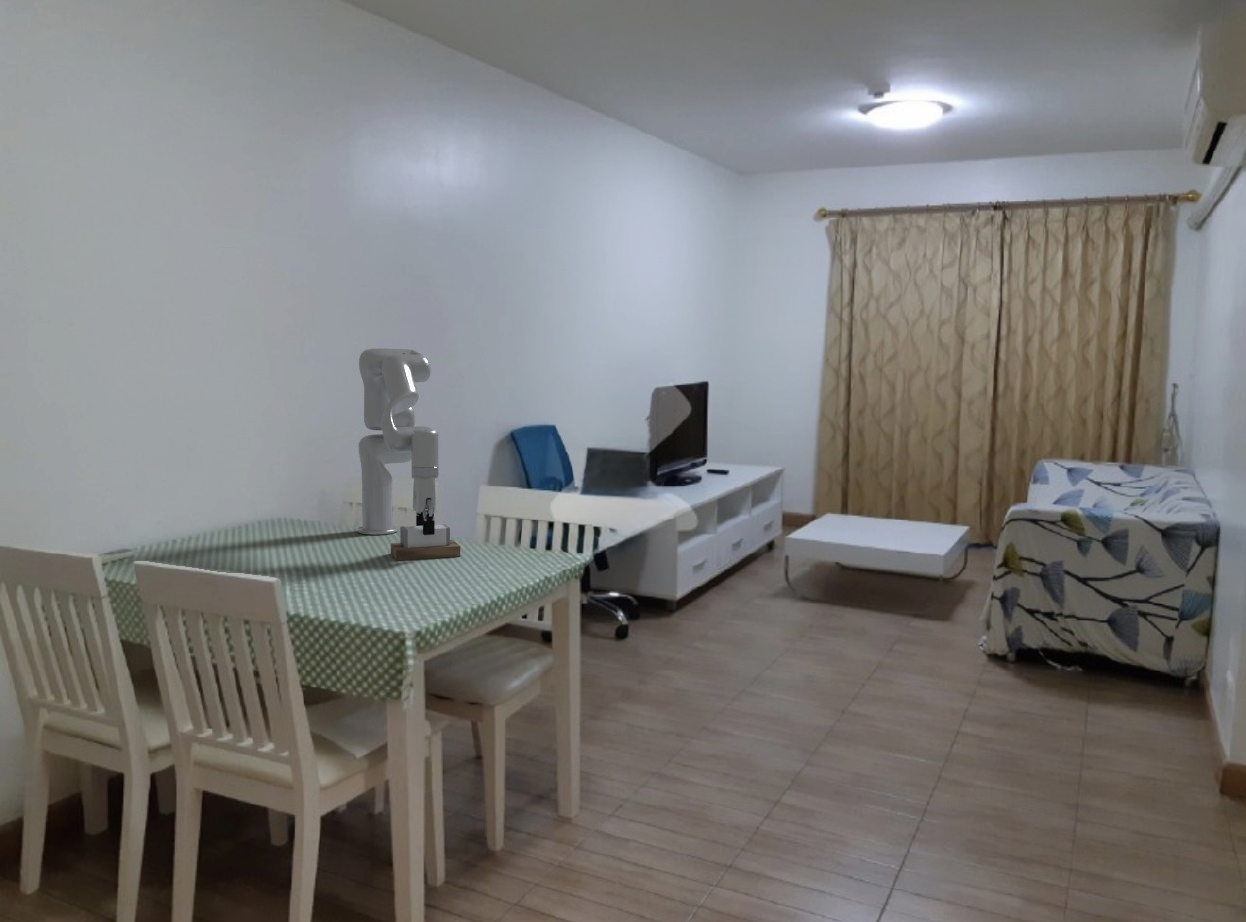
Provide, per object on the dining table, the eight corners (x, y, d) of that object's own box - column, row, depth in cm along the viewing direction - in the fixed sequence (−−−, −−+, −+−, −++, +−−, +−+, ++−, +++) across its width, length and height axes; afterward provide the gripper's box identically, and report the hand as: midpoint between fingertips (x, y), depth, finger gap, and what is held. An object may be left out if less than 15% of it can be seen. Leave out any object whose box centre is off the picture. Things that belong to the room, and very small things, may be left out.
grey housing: (400, 544, 276) (400, 526, 276) (445, 541, 281) (445, 524, 281) (404, 548, 271) (404, 530, 270) (449, 545, 276) (449, 527, 275)
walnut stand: (390, 553, 277) (390, 543, 277) (452, 549, 284) (452, 539, 284) (396, 560, 268) (396, 550, 268) (460, 556, 275) (460, 546, 275)
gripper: (406, 469, 280) (406, 527, 282) (417, 476, 264) (417, 537, 266) (431, 468, 283) (432, 526, 285) (444, 475, 267) (444, 536, 269)
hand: (425, 531), depth 275 cm, fingers open, 9 cm apart
